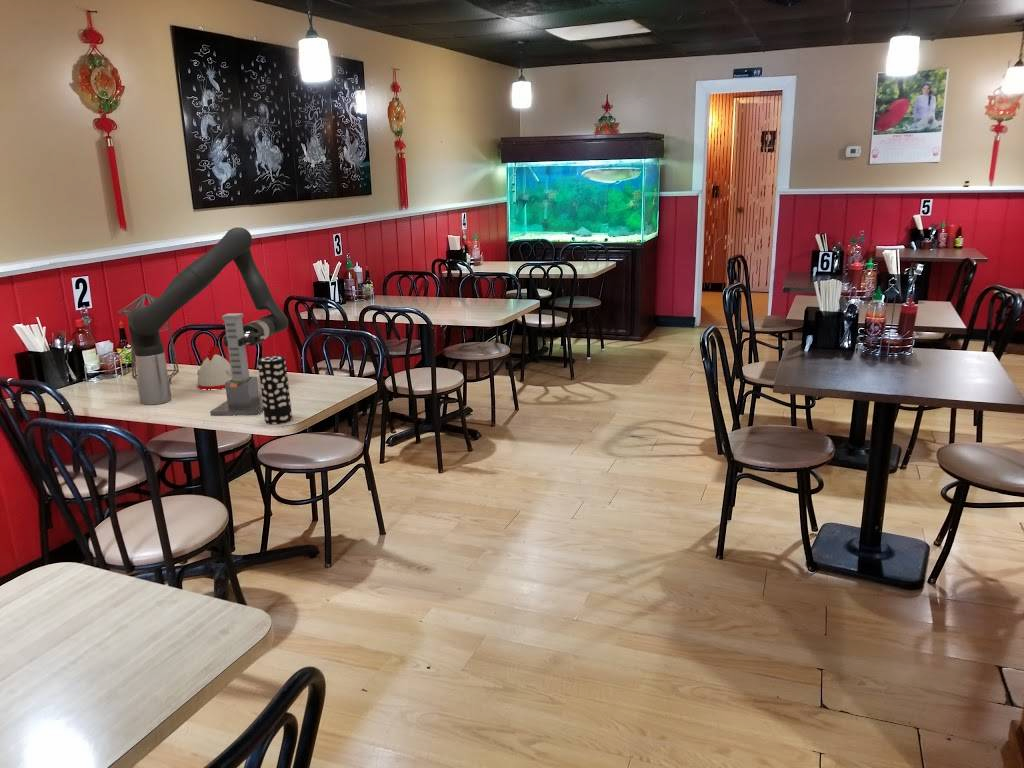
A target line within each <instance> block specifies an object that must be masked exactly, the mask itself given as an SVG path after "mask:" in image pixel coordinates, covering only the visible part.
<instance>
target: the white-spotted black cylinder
mask: <svg viewBox="0 0 1024 768" xmlns="http://www.w3.org/2000/svg"><path fill="white" fill-rule="evenodd" d="M286 361H287V360H286V356H284V355H268V356H264V357H260V358H257V368H258V376H259V383H260V384H259V385H260V393H261V397H262V402H263V410H264V412H263V417H264V423H265V422H266V423H265V424H267V423H269V424H268V425H282V424H286V423H289V422H291V421H292V420H293V412H292V403H291V395H290V388H289V378H288V370H287V369H288V368H287V362H286Z"/></svg>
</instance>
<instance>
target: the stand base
mask: <svg viewBox="0 0 1024 768" xmlns="http://www.w3.org/2000/svg"><path fill="white" fill-rule="evenodd" d="M249 378H250V379H249V380H248V381H246V382H233V380H232V379H230V380H229V381H227V382H225V387H226V389H225V394H226V401H224V402H222V403H221V404H219V405H218V406H217V407H215V408H213V409H212V410H210V411H209V412H210V417H211V416H212V417H219V416H220V417H221V416H222V417H224V416H225V417H228V416H229V417H231V416H232V417H233V415H235V416H237V415H258V414H259V415H261V414H262V413H264V412H263V411H264V410H263V402H262V396H261V397H260V391H259V383H258V376H249ZM261 412H262V413H261ZM260 413H261V414H260ZM259 415H258V416H259ZM235 416H234V417H235Z"/></svg>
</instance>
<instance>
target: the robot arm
mask: <svg viewBox="0 0 1024 768" xmlns="http://www.w3.org/2000/svg"><path fill="white" fill-rule="evenodd" d="M252 243H253V237H252V235H251V233H250V231H249V230H247V229H246V228H244V227H238V226H236V227H233V228H231V229H229V230H228V231H227V232H226V233H225V235H223V237H222V238H221V239H220V240H219V241H218V242H217V243H216V244H215V245H214V246H213V247H211V249H209V250H208V251H207V252H206V253H203V254H201V256H199V257H198V258H196V259H195V260H194V261H192V262H191V263H190V264H188V265H187V266H186V267H185V268H184V269H182V270H181V271H180V272H179V273H177V274H176V275H175V276H174V277H173V278H172V280H171V281H170V283H169V284H168V285H167V287H166V288H165V289H164V290H163V292H162V293H161V294H160V295H159V296H158V297H156V298H157V299H154V300H155V301H153V302H152V303H151V304H150V303H149V304H148V305H145V306H146V307H137V308H135V307H133V308H134V309H133V310H130V311H129V312H130V313H129V316H128V317H127V324H128V325H127V326H128V330H129V336H130V343H131V342H132V346H133V349H134V355H135V365H136V371H137V374H138V376H137V377H136V378H135V379H136V380H135V381H136V386H137V391H138V398H139V403H140V404H141V405H142V404H143V405H147V406H148V405H153V404H154V405H159V404H160V403H161V404H164V403H168V402H170V401H172V399H173V398H172V392H171V387H170V385H171V384H169V378H168V375H169V374H168V372H169V371H167V370H168V367H167V362H166V354H165V348H164V344H163V342H162V339H161V335H160V332H159V331H160V329H162V328H161V327H164V325H165V324H166V322H168V319H169V320H170V318H172V316H173V315H174V314H176V312H178V311H179V310H180V309H181V308H182V307H184V306H185V305H187V304H188V303H189V302H190V301H191V300H193V299H194V298H195V297H196V296H198V295H199V294H200V293H201V292H202V291H203V290H205V289H206V288H207V287H208V286H209V285H210V284H211V283H212V282H213V281H214V280H215V279H216V278H217V277H218V275H219V274H220V273H221V272H222V271H223V270H224V268H225V267H226V266H227V265H229V264H230V263H231V262H232V261H233V262H234V263H235V266H236V267H237V270H238V271H239V273H240V275H241V277H242V280H243V282H244V285H245V287H246V288H247V289H246V290H247V292H248V295H249V297H250V299H251V301H252V304H253V306H254V308H255V309H256V310H257V311H265V310H267V311H268V312H270V314H267V315H265V316H263V317H261V318H259V319H257V320H253V321H251V322H248V323H246V324H243V332H244V338H241V339H238V346H243V345H245V346H248V347H251V346H252V347H253V346H255V345H258V344H260V343H262V342H264V341H265V340H266V339H268V338H269V337H271V336H272V335H274V334H277V333H280V332H283V331H285V330H287V329H288V327H289V319H288V317H287V315H286V314H285V312H284V311H283V310H282V309H281V307H279V305H278V304H277V302H276V301H275V299H274V297H273V296H272V292H271V290H270V288H269V285H268V284H267V282H266V280H265V278H264V277H263V276H262V274H261V272H260V270H259V268H258V267H257V265H256V263H255V261H254V258H253V254H252V250H251V247H252ZM223 345H224V347H228V343H227V336H226V333H225V334H224V335H223Z"/></svg>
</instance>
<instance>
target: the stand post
mask: <svg viewBox="0 0 1024 768" xmlns="http://www.w3.org/2000/svg"><path fill="white" fill-rule="evenodd" d="M243 318H244V313H243V312H242V313H239V312H238V313H237V312H236V313H226V314H224V315H222V316H221V320H223V321H224V327H225V329H224V330H225V334H226V336H227V343H228V346H227V349H228V357H229V363H230V366H231V373H232V380H233V382H246V381H248V380H249V379H250V378H249V377H250V374H249V373H250V372H249V371H250V370H249V364H248V355H247V349H246V348H247V347H246V345H243V346H238V339H241V338H244V332H243V325H244V324H243Z"/></svg>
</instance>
